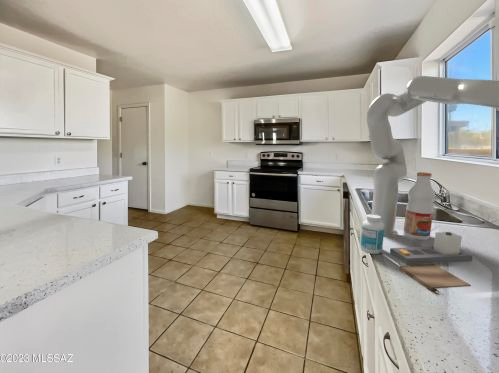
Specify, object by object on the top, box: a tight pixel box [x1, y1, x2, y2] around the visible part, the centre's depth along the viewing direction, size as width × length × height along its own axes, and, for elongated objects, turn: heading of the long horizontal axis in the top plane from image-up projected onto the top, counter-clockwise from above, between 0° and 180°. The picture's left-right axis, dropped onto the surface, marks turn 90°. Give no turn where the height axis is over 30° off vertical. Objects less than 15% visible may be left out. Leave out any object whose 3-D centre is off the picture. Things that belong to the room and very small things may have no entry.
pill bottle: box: [359, 214, 385, 255], centre depth 91 cm, size 8×7×14 cm
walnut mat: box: [399, 263, 471, 292], centre depth 74 cm, size 12×12×1 cm
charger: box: [433, 231, 463, 255], centre depth 85 cm, size 4×6×9 cm
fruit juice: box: [402, 171, 436, 241], centre depth 103 cm, size 9×9×28 cm
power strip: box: [389, 245, 474, 265], centre depth 85 cm, size 8×24×4 cm, turn 96°
